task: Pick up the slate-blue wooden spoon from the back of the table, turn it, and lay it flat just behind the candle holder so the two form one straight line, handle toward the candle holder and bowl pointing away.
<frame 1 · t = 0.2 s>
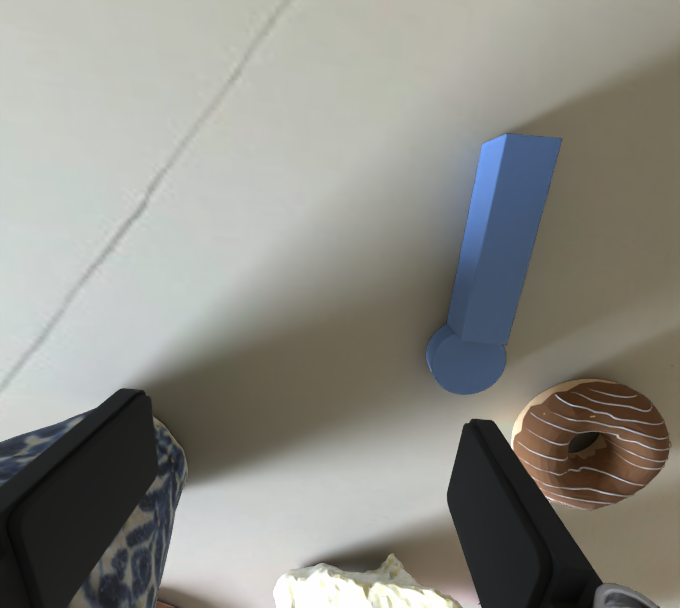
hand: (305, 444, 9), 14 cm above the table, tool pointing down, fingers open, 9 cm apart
donut: (566, 424, 26), on the table
cheese: (363, 554, 31), on the table
jug: (138, 446, 28), on the table
spoon: (484, 242, 21), on the table
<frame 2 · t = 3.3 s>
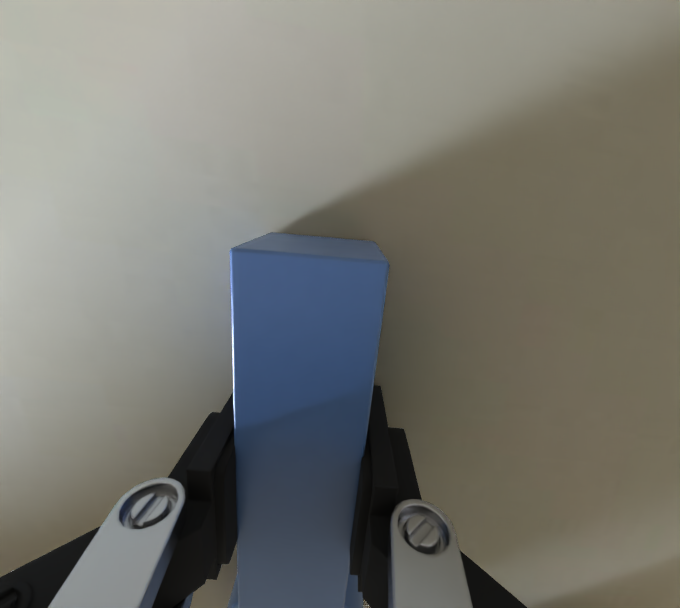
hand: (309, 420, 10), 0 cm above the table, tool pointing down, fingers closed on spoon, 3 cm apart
spoon: (310, 416, 11), on the table, touching gripper
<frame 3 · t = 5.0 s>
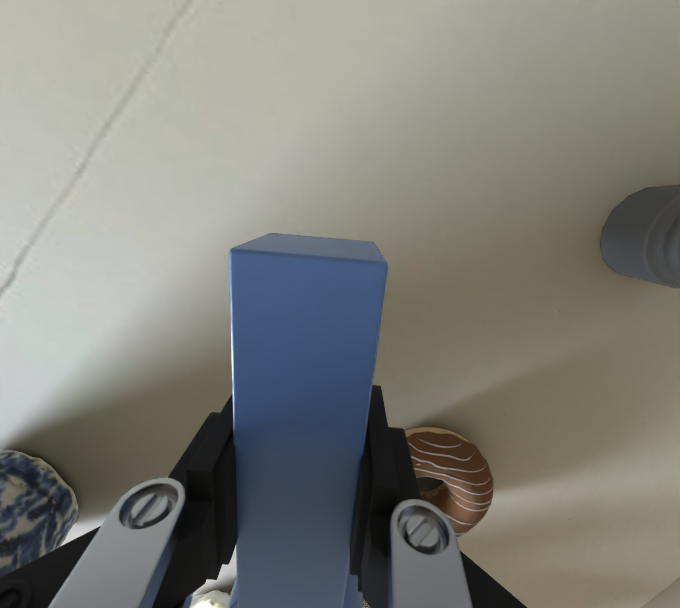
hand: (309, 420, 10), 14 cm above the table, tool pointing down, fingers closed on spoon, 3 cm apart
donut: (421, 465, 28), on the table
candle holder: (644, 233, 22), on the table
cheese: (254, 582, 33), on the table
jug: (32, 485, 30), on the table
spoon: (310, 416, 11), point 14 cm above the table, touching gripper
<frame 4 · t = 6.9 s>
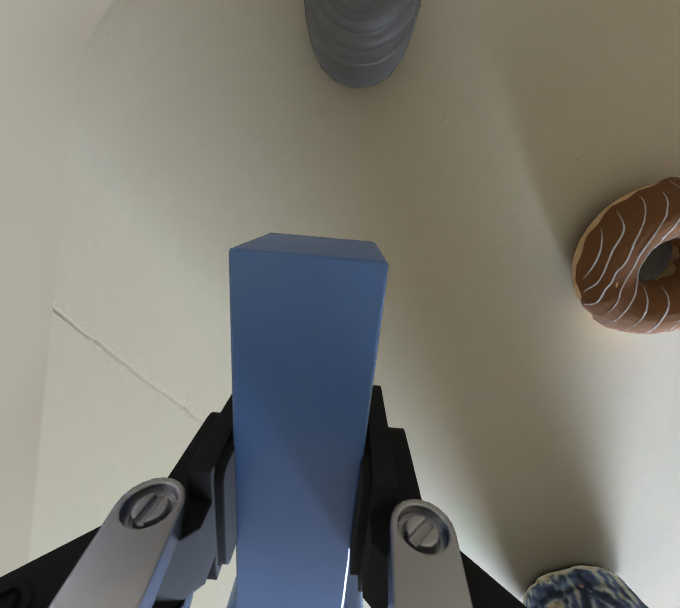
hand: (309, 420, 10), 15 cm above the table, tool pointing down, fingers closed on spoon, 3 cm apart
donut: (631, 255, 24), on the table
candle holder: (359, 31, 20), on the table
jug: (565, 587, 35), on the table
spoon: (310, 416, 11), point 15 cm above the table, touching gripper
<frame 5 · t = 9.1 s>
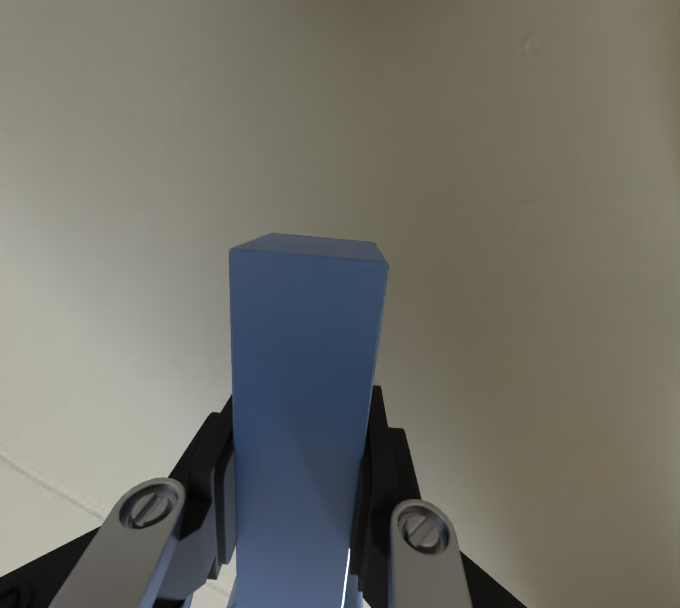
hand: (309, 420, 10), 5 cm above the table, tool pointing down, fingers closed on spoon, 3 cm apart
spoon: (310, 416, 11), point 5 cm above the table, touching gripper
when the fingers open (0 cm above the table, at t = 10.5 s): spoon stays where it is, on the table.
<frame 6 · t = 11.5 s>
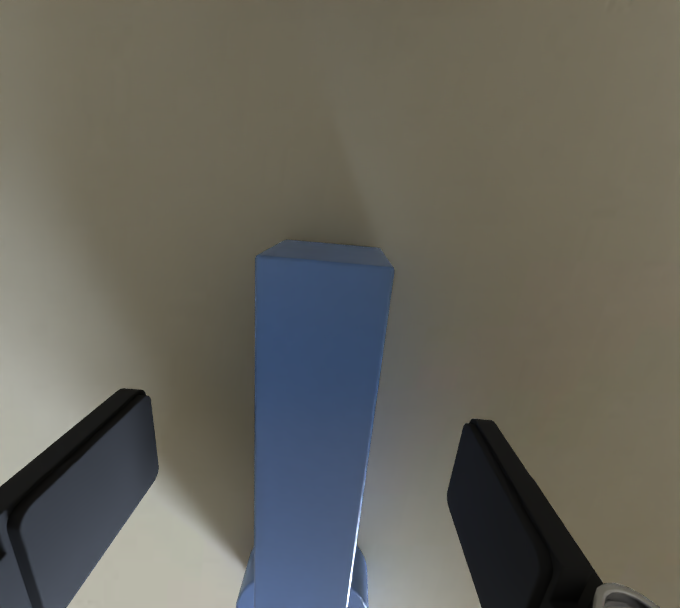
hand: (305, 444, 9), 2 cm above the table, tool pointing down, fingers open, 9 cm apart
spoon: (319, 409, 12), on the table
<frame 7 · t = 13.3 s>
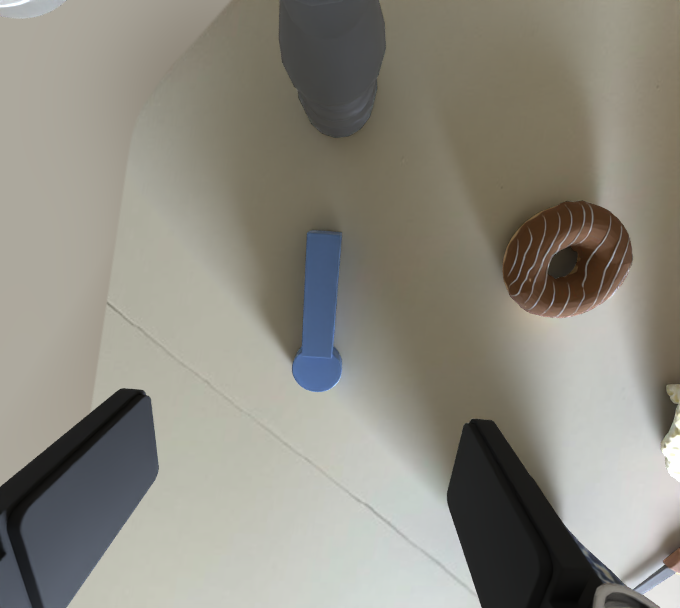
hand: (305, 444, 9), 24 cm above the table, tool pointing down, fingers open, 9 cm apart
donut: (549, 258, 31), on the table
candle holder: (338, 98, 27), on the table
cheese: (665, 404, 35), on the table
jug: (520, 534, 42), on the table
knife: (665, 565, 42), on the table
spoon: (322, 290, 32), on the table
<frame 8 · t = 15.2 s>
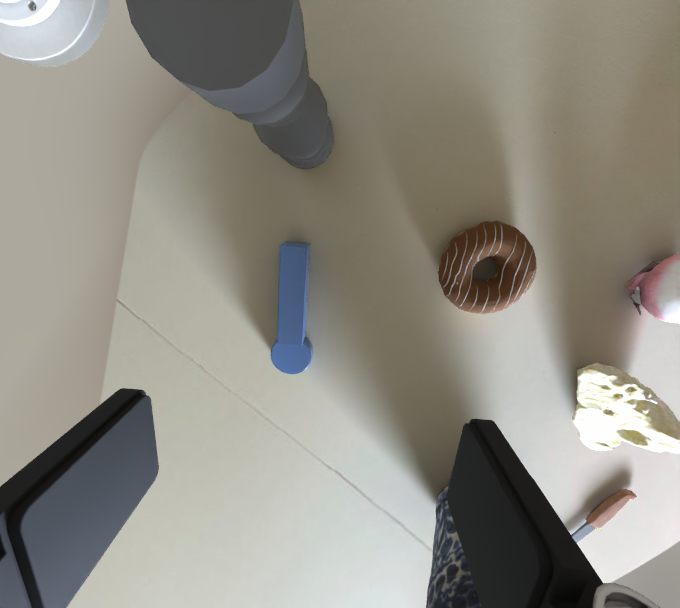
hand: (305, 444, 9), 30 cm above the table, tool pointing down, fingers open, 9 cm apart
donut: (478, 265, 38), on the table
candle holder: (305, 138, 34), on the table
cheese: (579, 385, 43), on the table
jug: (466, 496, 49), on the table
knife: (588, 522, 50), on the table
spoon: (295, 290, 40), on the table
onion: (651, 281, 38), on the table
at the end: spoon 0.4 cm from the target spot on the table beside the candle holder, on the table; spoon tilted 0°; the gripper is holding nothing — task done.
